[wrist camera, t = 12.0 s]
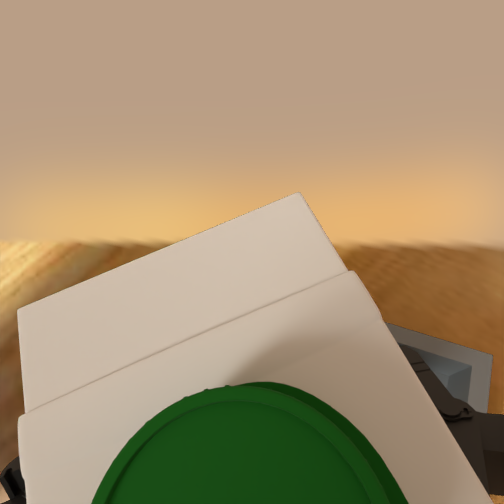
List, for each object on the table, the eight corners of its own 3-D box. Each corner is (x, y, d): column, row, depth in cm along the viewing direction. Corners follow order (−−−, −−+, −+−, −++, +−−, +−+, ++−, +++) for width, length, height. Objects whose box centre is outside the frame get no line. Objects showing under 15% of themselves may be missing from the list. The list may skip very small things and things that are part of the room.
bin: (93, 481, 26) (48, 490, 21) (188, 281, 32) (169, 256, 27) (421, 659, 19) (454, 725, 15) (461, 369, 25) (493, 355, 21)
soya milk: (237, 543, 20) (-190, 1201, 3) (190, 387, 25) (-96, 254, 7) (376, 475, 21) (752, 660, 3) (307, 334, 25) (312, 91, 8)
